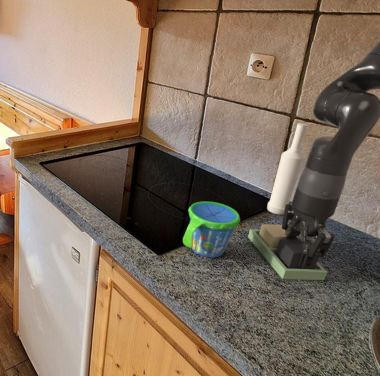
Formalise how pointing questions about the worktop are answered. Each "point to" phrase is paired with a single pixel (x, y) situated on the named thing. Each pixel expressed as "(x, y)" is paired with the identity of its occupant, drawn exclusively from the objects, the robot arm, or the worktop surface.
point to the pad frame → (279, 266)
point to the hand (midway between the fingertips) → (295, 259)
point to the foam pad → (272, 234)
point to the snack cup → (210, 228)
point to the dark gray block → (292, 253)
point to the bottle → (287, 173)
